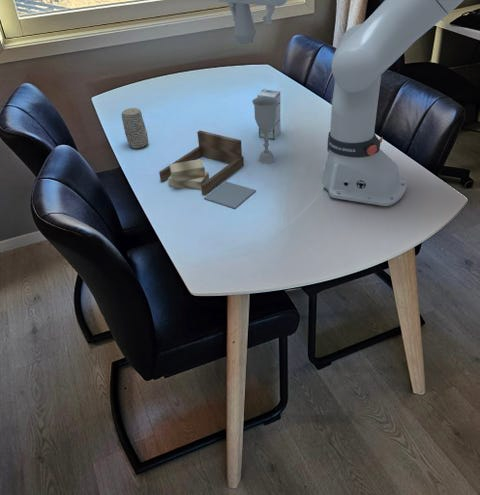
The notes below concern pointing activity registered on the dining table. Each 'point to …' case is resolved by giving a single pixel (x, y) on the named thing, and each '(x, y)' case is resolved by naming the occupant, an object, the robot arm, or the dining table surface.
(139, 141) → the carving
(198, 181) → the offcut lower
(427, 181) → the dining table surface
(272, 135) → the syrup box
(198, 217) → the dining table surface
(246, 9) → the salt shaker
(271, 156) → the chalice
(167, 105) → the dining table surface
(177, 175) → the offcut upper
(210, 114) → the dining table surface
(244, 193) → the slate mat
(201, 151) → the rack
